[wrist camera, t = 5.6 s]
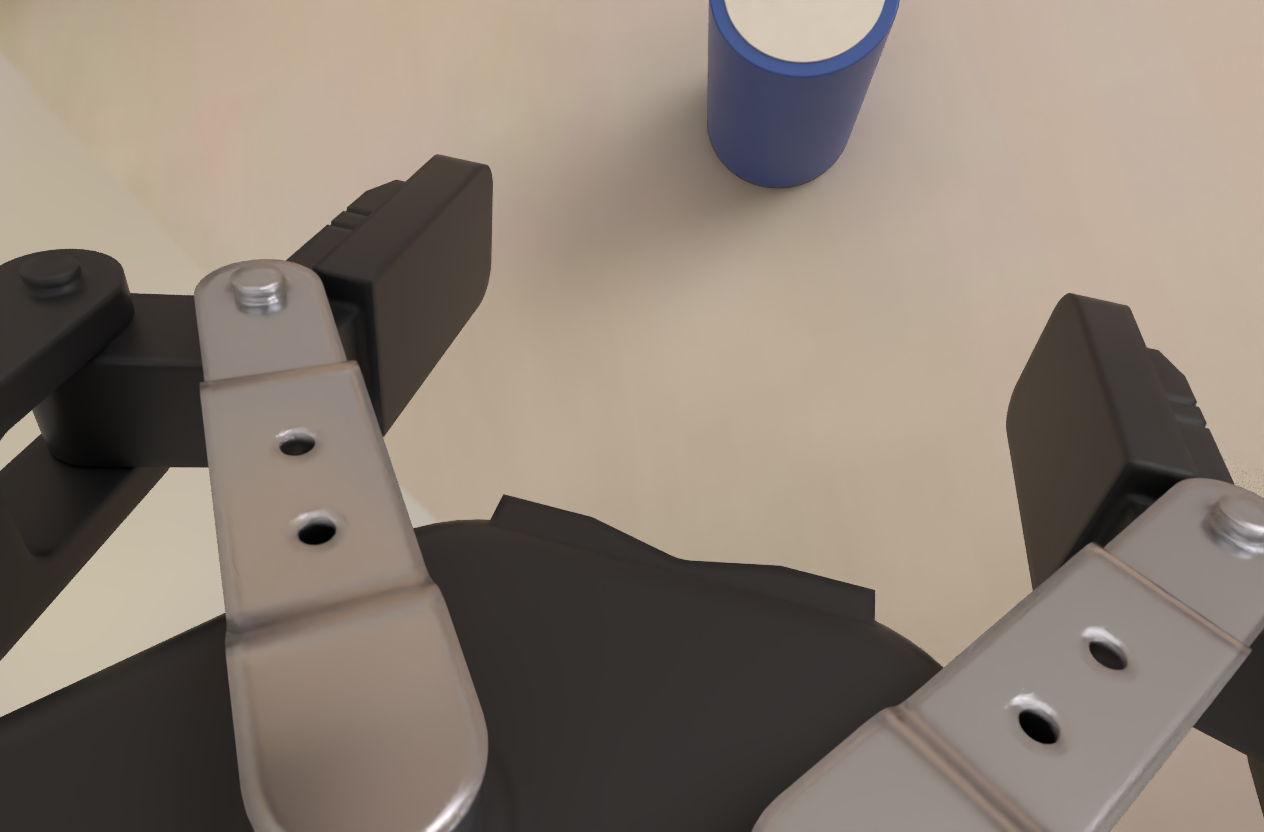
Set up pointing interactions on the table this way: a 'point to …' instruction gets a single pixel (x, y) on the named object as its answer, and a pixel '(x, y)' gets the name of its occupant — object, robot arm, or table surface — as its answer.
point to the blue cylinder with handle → (789, 82)
